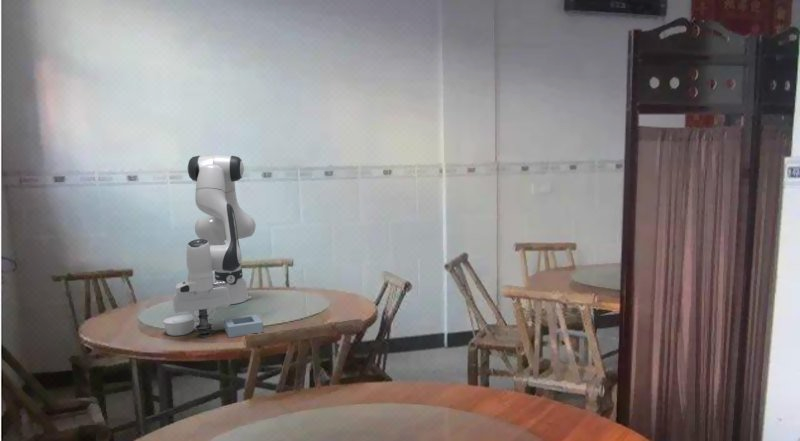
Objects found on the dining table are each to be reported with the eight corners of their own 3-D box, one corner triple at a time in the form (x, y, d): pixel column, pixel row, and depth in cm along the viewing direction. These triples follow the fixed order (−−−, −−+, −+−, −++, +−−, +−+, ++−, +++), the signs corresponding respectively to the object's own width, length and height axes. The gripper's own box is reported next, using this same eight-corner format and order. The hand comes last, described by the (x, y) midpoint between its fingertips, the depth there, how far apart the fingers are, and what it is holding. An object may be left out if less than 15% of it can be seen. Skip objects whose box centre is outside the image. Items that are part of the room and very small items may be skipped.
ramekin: (157, 335, 233) (156, 321, 232) (178, 326, 243) (177, 313, 242) (181, 338, 229) (180, 324, 228) (201, 329, 239) (200, 315, 238)
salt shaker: (216, 333, 233) (214, 302, 231) (206, 338, 227) (204, 306, 225) (202, 332, 234) (200, 301, 233) (192, 337, 229) (190, 305, 227)
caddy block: (224, 328, 239) (223, 318, 238) (257, 323, 243) (256, 314, 243) (228, 337, 227) (228, 327, 227) (263, 332, 232) (262, 322, 231)
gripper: (228, 279, 235) (231, 314, 237) (171, 285, 227) (174, 322, 229) (231, 282, 229) (233, 319, 231) (172, 289, 221) (175, 326, 223)
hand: (203, 320), depth 230 cm, fingers open, 4 cm apart
